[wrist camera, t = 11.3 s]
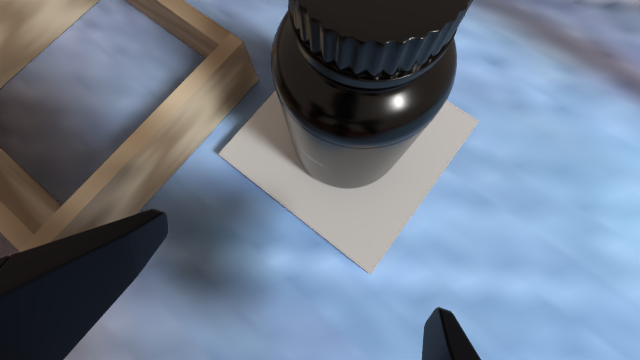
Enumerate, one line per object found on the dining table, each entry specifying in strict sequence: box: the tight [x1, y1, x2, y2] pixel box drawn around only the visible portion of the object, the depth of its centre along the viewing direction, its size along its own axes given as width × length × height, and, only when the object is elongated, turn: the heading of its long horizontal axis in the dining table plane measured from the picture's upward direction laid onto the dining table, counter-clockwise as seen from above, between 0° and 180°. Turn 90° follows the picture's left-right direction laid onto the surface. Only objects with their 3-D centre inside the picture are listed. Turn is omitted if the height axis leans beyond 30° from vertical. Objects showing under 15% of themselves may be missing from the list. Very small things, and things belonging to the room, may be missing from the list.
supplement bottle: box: [271, 0, 473, 189], centre depth 13 cm, size 7×7×12 cm
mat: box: [219, 90, 479, 274], centre depth 19 cm, size 12×12×1 cm
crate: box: [0, 0, 259, 252], centre depth 19 cm, size 16×16×4 cm
